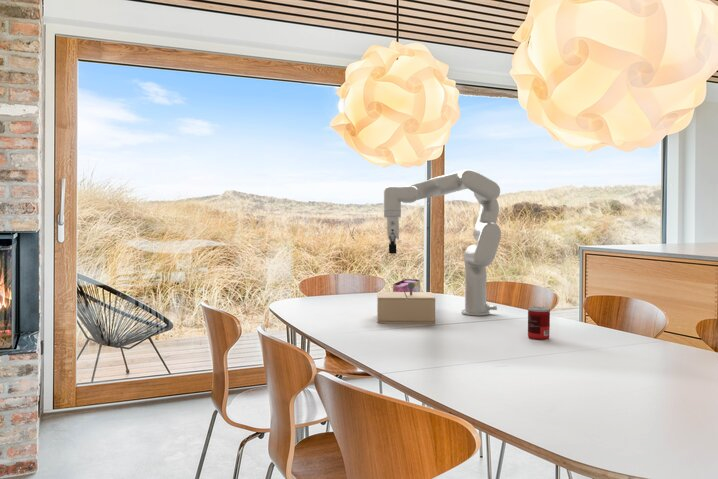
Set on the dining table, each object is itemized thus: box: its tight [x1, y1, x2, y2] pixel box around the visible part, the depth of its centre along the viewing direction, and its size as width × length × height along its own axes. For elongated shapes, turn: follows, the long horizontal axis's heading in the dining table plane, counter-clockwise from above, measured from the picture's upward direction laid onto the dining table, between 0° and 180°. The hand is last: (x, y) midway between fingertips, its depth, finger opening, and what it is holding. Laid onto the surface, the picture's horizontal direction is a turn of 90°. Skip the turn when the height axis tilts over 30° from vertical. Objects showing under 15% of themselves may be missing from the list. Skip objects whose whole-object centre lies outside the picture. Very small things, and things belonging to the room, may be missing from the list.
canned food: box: [527, 306, 551, 341], centre depth 209 cm, size 8×8×11 cm
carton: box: [376, 291, 436, 324], centre depth 246 cm, size 24×18×11 cm
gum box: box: [392, 278, 421, 293], centre depth 270 cm, size 24×8×14 cm, turn 160°
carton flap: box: [405, 282, 436, 300], centre depth 245 cm, size 12×17×6 cm
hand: (392, 252), depth 253 cm, fingers open, 9 cm apart
